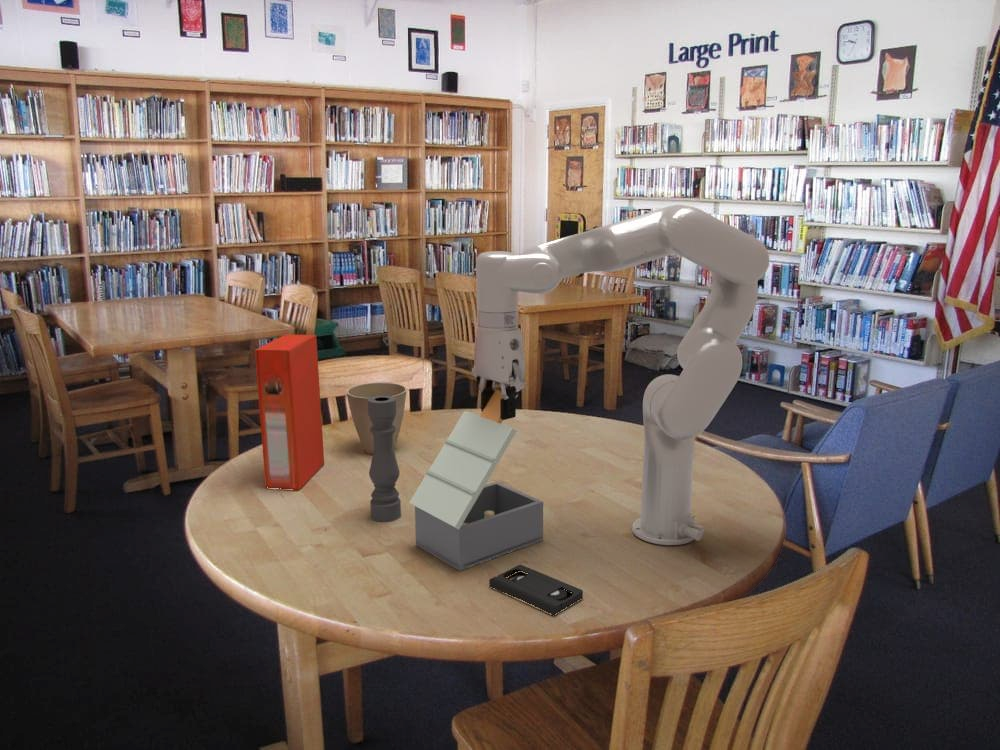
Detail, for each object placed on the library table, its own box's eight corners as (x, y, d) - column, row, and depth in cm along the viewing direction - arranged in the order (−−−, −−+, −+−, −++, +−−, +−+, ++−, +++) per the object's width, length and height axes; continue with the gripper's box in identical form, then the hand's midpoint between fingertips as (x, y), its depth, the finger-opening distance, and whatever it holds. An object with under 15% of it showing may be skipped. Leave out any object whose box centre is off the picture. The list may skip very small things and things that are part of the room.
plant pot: (355, 440, 224) (353, 382, 220) (412, 441, 223) (410, 382, 219) (343, 459, 209) (340, 397, 205) (403, 460, 209) (401, 397, 205)
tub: (542, 540, 164) (543, 501, 162) (459, 571, 151) (459, 529, 150) (497, 518, 174) (496, 481, 172) (415, 544, 162) (414, 505, 160)
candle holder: (405, 511, 178) (402, 396, 172) (394, 523, 172) (390, 404, 166) (378, 508, 179) (373, 394, 173) (365, 520, 173) (361, 402, 167)
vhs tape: (583, 601, 142) (583, 590, 141) (553, 619, 136) (553, 608, 136) (520, 574, 151) (520, 563, 151) (489, 590, 146) (489, 579, 145)
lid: (533, 403, 155) (528, 399, 154) (459, 529, 149) (453, 526, 148) (484, 387, 166) (479, 383, 165) (413, 505, 160) (408, 502, 159)
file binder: (264, 489, 190) (254, 349, 182) (292, 463, 207) (284, 334, 199) (299, 491, 189) (290, 350, 181) (324, 464, 206) (317, 335, 198)
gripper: (543, 323, 151) (543, 421, 156) (485, 311, 164) (486, 402, 169) (511, 328, 147) (511, 429, 151) (453, 316, 160) (455, 409, 164)
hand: (498, 413), depth 160 cm, fingers closed on lid, 5 cm apart
